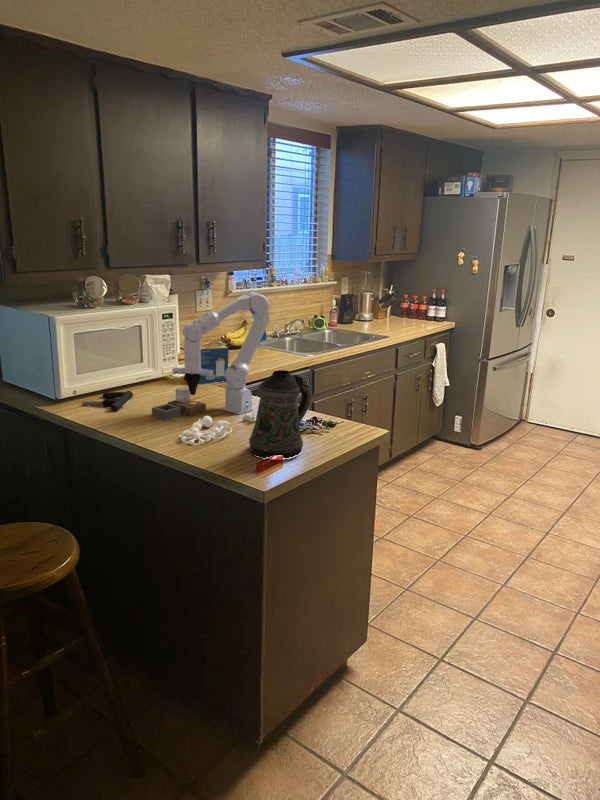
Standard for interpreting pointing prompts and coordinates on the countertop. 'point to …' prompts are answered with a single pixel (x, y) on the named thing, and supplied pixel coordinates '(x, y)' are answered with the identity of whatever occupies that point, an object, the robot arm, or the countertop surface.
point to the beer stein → (280, 416)
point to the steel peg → (182, 395)
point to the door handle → (112, 400)
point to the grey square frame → (166, 411)
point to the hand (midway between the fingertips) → (193, 394)
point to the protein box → (214, 362)
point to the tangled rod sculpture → (197, 434)
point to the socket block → (190, 407)
